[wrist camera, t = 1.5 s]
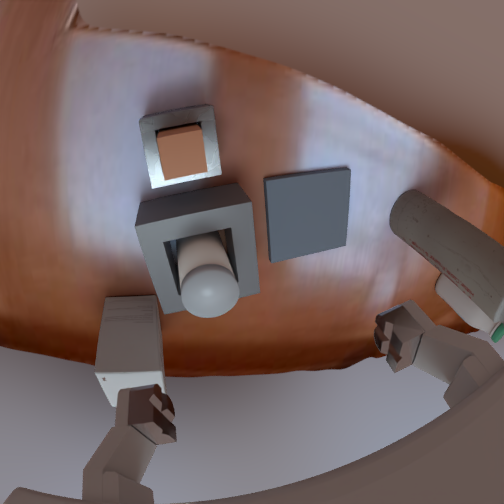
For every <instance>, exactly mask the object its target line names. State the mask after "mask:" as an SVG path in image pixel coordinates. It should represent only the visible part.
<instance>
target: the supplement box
mask: <svg viewBox="0 0 504 504" xmlns="http://www.w3.org/2000/svg"><path fill="white" fill-rule="evenodd" d="M95 374H96V377H97V378H98V380H99V382H100V384H101V386H102V388H103V390H104V392H105V394H106V396H107V398H108V400H109V402H110V404H111V405H112V406H113V407H117V397H118V392H119V390H120V389H126V388H132V387H139V386H145V385H151V384H158V385H159V386H160V387H161V388H162V393H165V394H167V392H166V382H165V373H164V362H163V346H162V333H161V326H160V318H159V311H158V303H157V297H156V295H150V296H130V297H106V298H105V303H104V309H103V314H102V320H101V326H100V333H99V340H98V347H97V355H96V363H95Z"/></svg>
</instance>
